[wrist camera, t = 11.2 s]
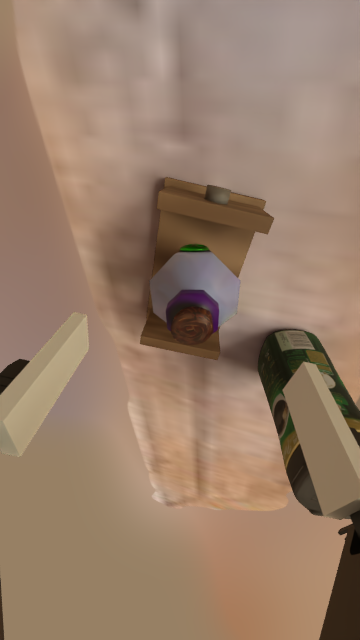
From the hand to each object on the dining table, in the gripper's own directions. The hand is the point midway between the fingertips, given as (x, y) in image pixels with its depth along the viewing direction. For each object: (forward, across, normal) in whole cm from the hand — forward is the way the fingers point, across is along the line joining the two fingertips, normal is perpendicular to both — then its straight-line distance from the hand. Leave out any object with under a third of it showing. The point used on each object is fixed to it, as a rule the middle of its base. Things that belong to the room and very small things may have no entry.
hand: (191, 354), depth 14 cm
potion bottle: (+15, 0, -1) cm, 15 cm away
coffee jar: (+16, +16, -11) cm, 25 cm away
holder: (+16, 0, -1) cm, 16 cm away
